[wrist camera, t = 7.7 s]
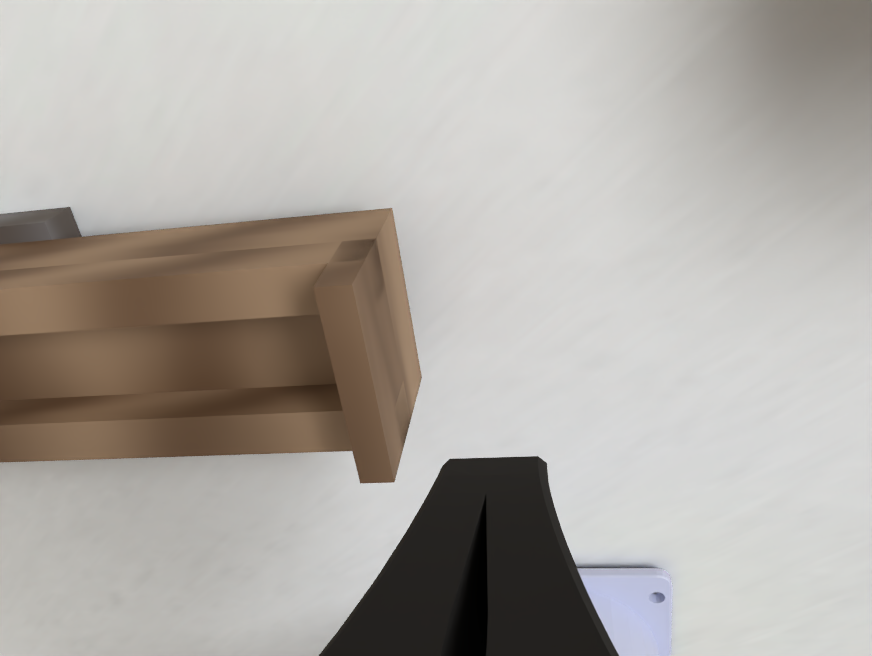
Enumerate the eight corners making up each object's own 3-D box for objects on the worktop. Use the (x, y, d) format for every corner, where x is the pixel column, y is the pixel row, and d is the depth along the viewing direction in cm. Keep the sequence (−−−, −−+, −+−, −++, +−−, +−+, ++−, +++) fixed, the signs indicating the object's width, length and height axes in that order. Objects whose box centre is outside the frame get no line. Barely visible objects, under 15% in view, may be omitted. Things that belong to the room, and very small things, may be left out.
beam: (397, 174, 19) (347, 260, 14) (429, 369, 22) (397, 499, 17) (-288, 243, 23) (-514, 330, 18) (-184, 401, 25) (-355, 513, 21)
